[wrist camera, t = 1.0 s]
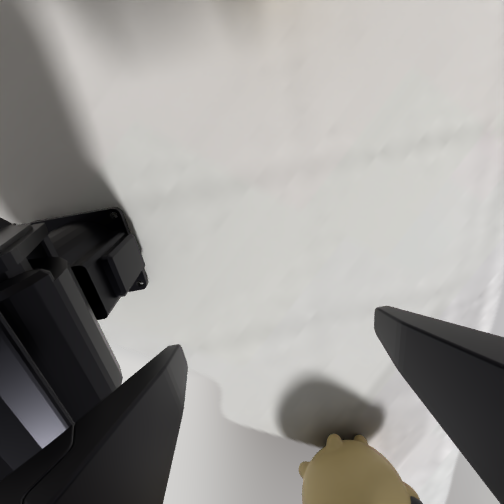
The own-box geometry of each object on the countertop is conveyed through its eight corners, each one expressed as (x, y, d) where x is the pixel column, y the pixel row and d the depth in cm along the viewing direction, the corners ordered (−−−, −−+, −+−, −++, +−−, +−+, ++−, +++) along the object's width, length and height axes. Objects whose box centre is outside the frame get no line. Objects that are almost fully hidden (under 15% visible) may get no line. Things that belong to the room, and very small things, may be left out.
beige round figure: (350, 480, 35) (397, 613, 25) (276, 456, 32) (296, 598, 22) (404, 437, 32) (481, 568, 22) (329, 404, 29) (379, 543, 19)
